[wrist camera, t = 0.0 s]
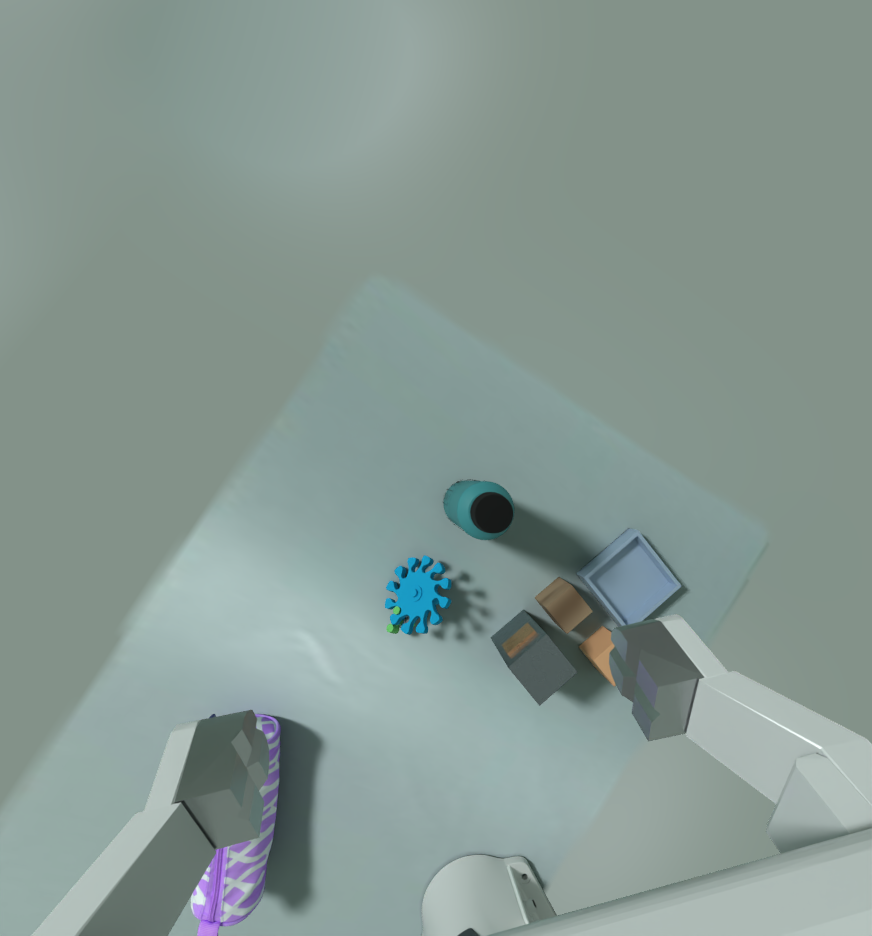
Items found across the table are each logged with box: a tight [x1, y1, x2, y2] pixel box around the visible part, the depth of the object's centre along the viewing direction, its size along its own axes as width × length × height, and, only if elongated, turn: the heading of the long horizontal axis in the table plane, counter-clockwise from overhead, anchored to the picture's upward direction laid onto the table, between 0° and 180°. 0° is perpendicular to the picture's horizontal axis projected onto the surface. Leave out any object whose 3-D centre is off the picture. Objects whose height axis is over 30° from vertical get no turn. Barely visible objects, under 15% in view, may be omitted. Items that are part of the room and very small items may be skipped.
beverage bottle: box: [443, 479, 514, 540], centre depth 56 cm, size 6×7×20 cm
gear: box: [385, 556, 451, 635], centre depth 63 cm, size 11×6×10 cm
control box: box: [491, 610, 577, 706], centre depth 61 cm, size 7×6×10 cm
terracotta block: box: [579, 626, 616, 686], centre depth 65 cm, size 4×4×5 cm
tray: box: [576, 528, 681, 627], centre depth 66 cm, size 10×10×3 cm
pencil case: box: [191, 714, 281, 936], centre depth 58 cm, size 22×9×10 cm, turn 177°
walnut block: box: [535, 577, 593, 634], centre depth 64 cm, size 4×4×5 cm
